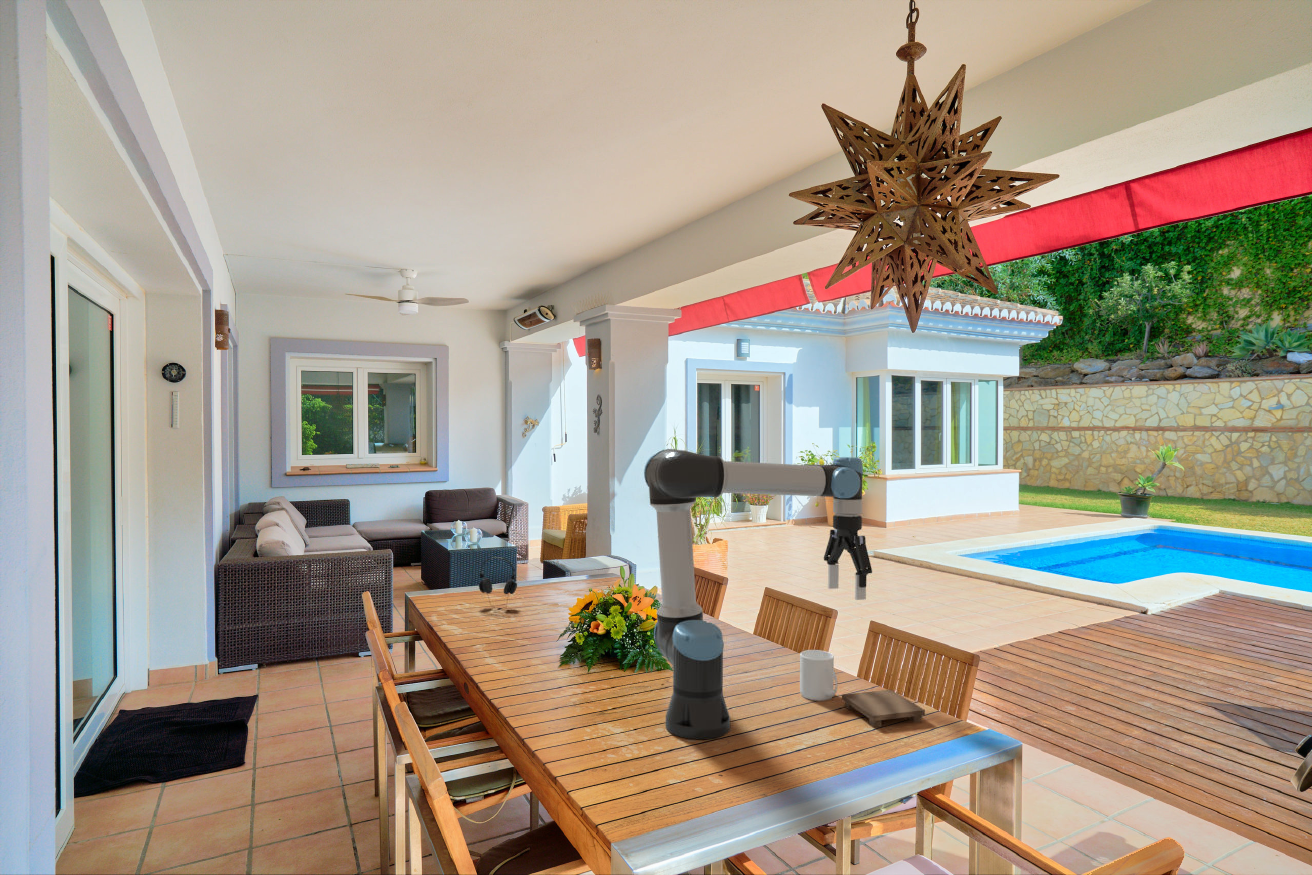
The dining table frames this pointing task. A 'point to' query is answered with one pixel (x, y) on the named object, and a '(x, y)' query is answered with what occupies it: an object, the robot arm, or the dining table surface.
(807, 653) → the mug
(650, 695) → the dining table surface
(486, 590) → the headphones
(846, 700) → the stand
